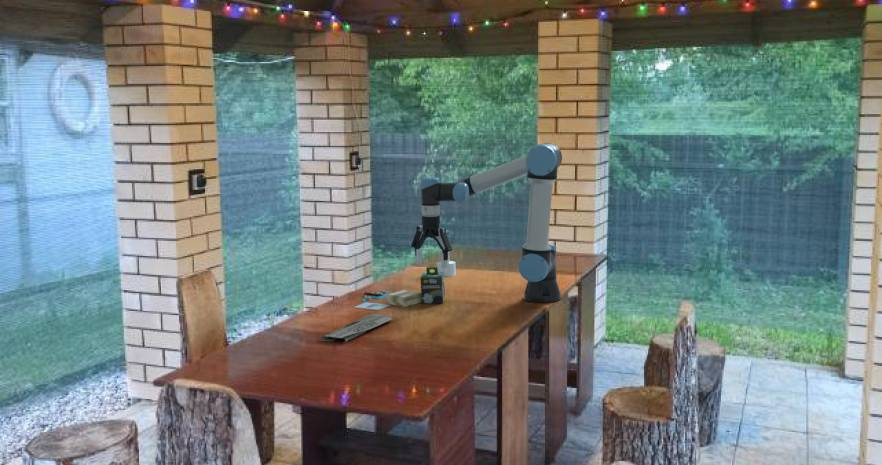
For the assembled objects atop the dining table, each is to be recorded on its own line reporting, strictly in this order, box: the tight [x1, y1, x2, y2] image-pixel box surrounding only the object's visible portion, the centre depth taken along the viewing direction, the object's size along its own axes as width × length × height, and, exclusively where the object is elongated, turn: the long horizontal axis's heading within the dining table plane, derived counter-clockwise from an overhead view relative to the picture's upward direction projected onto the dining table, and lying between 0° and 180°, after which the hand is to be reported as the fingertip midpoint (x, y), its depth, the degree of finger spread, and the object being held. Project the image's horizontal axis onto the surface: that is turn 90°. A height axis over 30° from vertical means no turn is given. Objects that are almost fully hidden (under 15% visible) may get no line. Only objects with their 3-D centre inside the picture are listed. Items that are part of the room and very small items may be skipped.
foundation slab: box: [386, 289, 422, 308], centre depth 351 cm, size 10×10×4 cm
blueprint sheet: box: [353, 301, 391, 311], centre depth 347 cm, size 12×9×1 cm
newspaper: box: [320, 314, 394, 344], centre depth 309 cm, size 35×12×4 cm, turn 156°
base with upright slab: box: [436, 251, 457, 278], centre depth 408 cm, size 9×9×12 cm
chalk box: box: [419, 266, 446, 305], centre depth 352 cm, size 9×9×15 cm
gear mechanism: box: [361, 285, 390, 303], centre depth 365 cm, size 20×5×9 cm
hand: (431, 266), depth 351 cm, fingers open, 13 cm apart
